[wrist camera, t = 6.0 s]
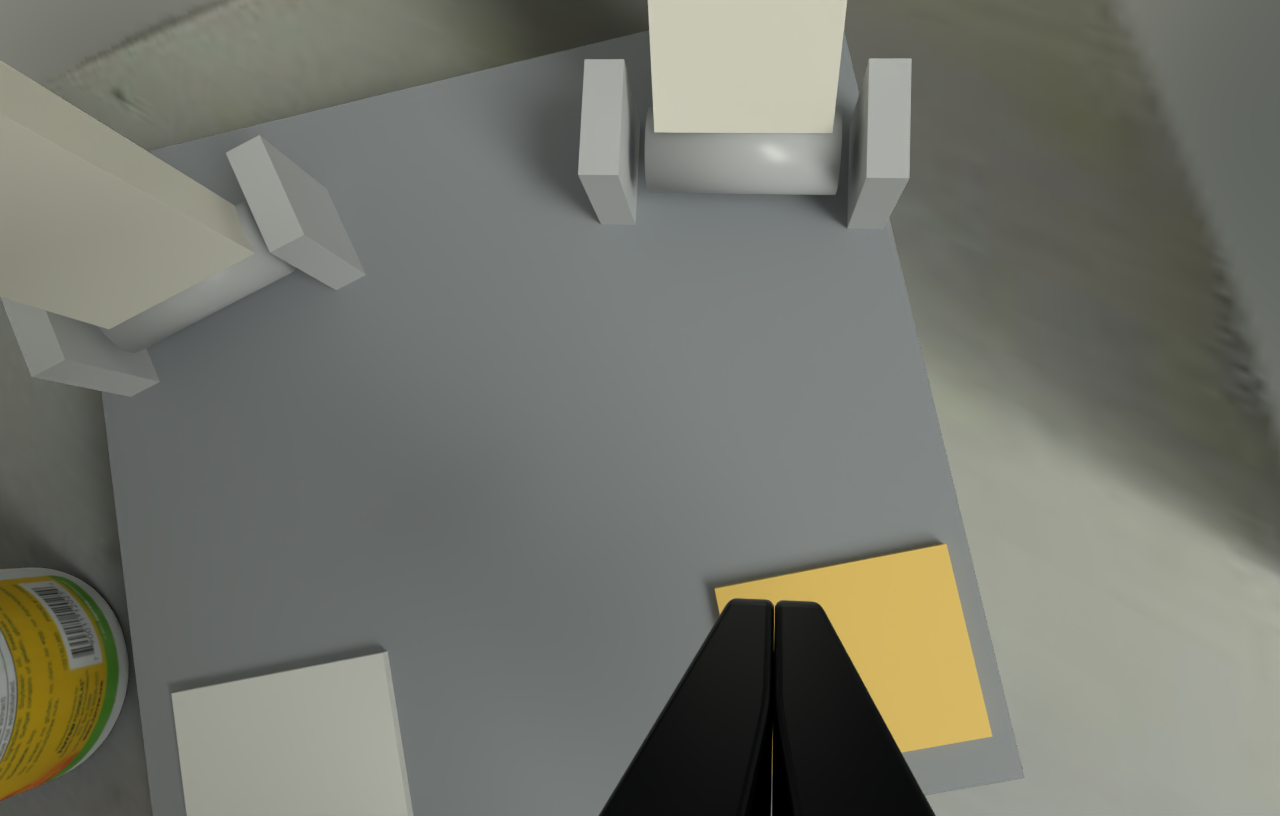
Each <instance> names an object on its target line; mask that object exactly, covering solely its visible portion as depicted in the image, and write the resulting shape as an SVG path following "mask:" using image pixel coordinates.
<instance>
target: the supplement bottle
mask: <svg viewBox="0 0 1280 816" xmlns="http://www.w3.org/2000/svg"><path fill="white" fill-rule="evenodd" d="M128 676H129V663H128V653H127V648H126V643H125V639H124V636H123V632H122V629H121V626H120V624H119V622H118V620H117V618H116V616H115V614H114V612H113V611H112V609H111V608H110V606H109V605H108V604H107V602H106V601H105V600H104V599H103V598H102V597H101V596H100V594H99V593H98V592H97V591H95V590H94V589H93V588H92V587H91V586H89V585H88V584H86V583H85V582H83V581H82V580H80V579H78V578H76V577H74V576H72V575H70V574H67V573H64V572H61V571H57V570H53V569H47V568H6V569H0V801H1V800H4V799H6V798H9V797H11V796H14V795H16V794H19V793H21V792H24V791H27V790H29V789H32V788H35V787H37V786H39V785H42V784H44V783H46V782H49V781H51V780H53V779H56V778H58V777H60V776H62V775H64V774H66V773H68V772H69V771H71V770H73V769H74V768H76V767H77V766H78V765H80V764H81V763H83V762H84V761H85V760H86V759H87V758H89V757H90V756H91V755H92V754H93V753H94V752H95V751H96V750H97V748H98V747H99V746H100V745H101V744H102V743H103V741H104V740H105V739H106V737H107V736H108V734H109V733H110V731H111V729H112V728H113V726H114V724H115V722H116V720H117V718H118V716H119V713H120V711H121V708H122V705H123V703H124V699H125V695H126V690H127V684H128Z"/></svg>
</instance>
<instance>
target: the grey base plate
mask: <svg viewBox="0 0 1280 816" xmlns="http://www.w3.org/2000/svg"><path fill="white" fill-rule="evenodd" d="M649 106H653V95H652V75H651V54H650V34H649V30H647V31H643V32H639V33H635V34H630V35H626V36H622V37H618V38H614V39H610V40H606V41H601V42H597V43H593V44H589V45H585V46H581V47H577V48H572V49H568V50H564V51H560V52H556V53H552V54H548V55H543V56H539V57H535V58H531V59H527V60H523V61H519V62H514V63H510V64H506V65H502V66H498V67H494V68H490V69H485V70H481V71H477V72H473V73H469V74H465V75H460V76H456V77H452V78H448V79H444V80H440V81H436V82H431V83H427V84H423V85H419V86H415V87H411V88H407V89H402V90H398V91H394V92H390V93H386V94H382V95H378V96H373V97H369V98H365V99H361V100H357V101H353V102H349V103H344V104H340V105H336V106H332V107H328V108H324V109H320V110H315V111H311V112H307V113H303V114H299V115H295V116H291V117H286V118H282V119H278V120H274V121H270V122H266V123H261V124H257V125H253V126H249V127H245V128H241V129H237V130H232V131H228V132H224V133H220V134H216V135H212V136H208V137H203V138H199V139H195V140H191V141H187V142H183V143H179V144H174V145H170V146H166V147H162V148H158V149H154V150H150V151H148V152H149V153H151V154H152V155H154V156H156V157H157V158H159V159H161V160H162V161H164V162H165V163H167V164H169V165H170V166H172V167H173V168H175V169H177V170H178V171H180V172H182V173H183V174H185V175H186V176H188V177H190V178H191V179H193V180H194V181H196V182H198V183H199V184H201V185H202V186H204V187H206V188H207V189H209V190H211V191H212V192H214V193H215V194H217V195H219V196H220V197H222V198H223V199H225V200H227V201H228V202H230V203H232V204H233V205H235V206H236V205H238V204H240V203H242V202H244V201H246V200H247V202H248V205H249V207H250V209H251V211H252V214H253V216H254V218H255V220H256V223H257V225H258V227H259V229H260V232H261V234H262V236H263V238H264V241H265V243H266V245H267V247H268V250H269V252H270V253H271V254H273V255H275V256H277V257H278V258H280V259H282V260H284V261H285V262H287V263H289V264H291V265H292V266H294V267H296V268H295V271H294V272H292V273H290V274H288V275H286V276H284V277H282V278H280V279H279V280H277V281H275V282H273V283H271V284H269V285H267V286H265V287H263V288H261V289H259V290H257V291H255V292H253V293H252V294H250V295H248V296H246V297H244V298H242V299H240V300H238V301H236V302H234V303H232V304H230V305H228V306H226V307H225V308H223V309H221V310H219V311H217V312H215V313H213V314H211V315H209V316H207V317H205V318H203V319H201V320H199V321H198V322H196V323H194V324H192V325H190V326H188V327H186V328H184V329H182V330H180V331H178V332H176V333H174V334H172V335H171V336H169V337H167V338H165V339H163V340H161V341H159V342H157V343H155V344H153V345H151V346H149V347H147V348H145V349H144V350H142V351H140V352H137V353H131V352H128V351H125V350H123V349H121V348H120V347H118V346H117V345H116V344H114V343H113V342H112V341H111V340H110V339H109V338H108V337H107V336H106V335H105V334H104V333H103V332H102V331H101V329H100V328H99V327H98V326H96V325H93V324H89V323H86V322H83V321H79V320H76V319H73V318H69V317H66V316H63V315H59V314H56V313H52V312H49V311H46V310H42V309H39V308H36V307H32V306H29V305H26V304H22V303H19V302H16V301H12V300H9V299H5V298H2V297H0V298H1V300H2V303H3V305H4V308H5V311H6V313H7V316H8V318H9V321H10V323H11V326H12V329H13V331H14V334H15V336H16V339H17V341H18V344H19V347H20V349H21V352H22V354H23V357H24V359H25V362H26V365H27V367H28V370H29V372H30V375H31V377H33V378H38V379H43V380H48V381H53V382H58V383H63V384H68V385H73V386H78V387H83V388H88V389H93V390H99V391H101V393H102V402H103V410H104V418H105V427H106V435H107V443H108V451H109V460H110V468H111V476H112V485H113V493H114V501H115V509H116V518H117V526H118V534H119V542H120V551H121V559H122V567H123V576H124V584H125V592H126V600H127V609H128V617H129V625H130V633H131V642H132V650H133V658H134V667H135V675H136V683H137V691H138V700H139V708H140V716H141V725H142V733H143V741H144V749H145V758H146V766H147V774H148V782H149V791H150V799H151V807H152V816H599V814H600V812H601V811H602V809H603V807H604V806H605V804H606V802H607V801H608V799H609V797H610V796H611V794H612V792H613V791H614V789H615V787H616V786H617V784H618V782H619V781H620V779H621V778H622V776H623V774H624V773H625V771H626V769H627V768H628V766H629V764H630V763H631V761H632V759H633V758H634V756H635V754H636V753H637V751H638V749H639V748H640V746H641V744H642V743H643V741H644V739H645V738H646V736H647V735H648V733H649V731H650V730H651V728H652V726H653V725H654V723H655V721H656V720H657V718H658V716H659V715H660V713H661V711H662V710H663V708H664V706H665V705H666V703H667V701H668V700H669V698H670V696H671V695H672V693H673V692H674V690H675V688H676V687H677V685H678V683H679V682H680V680H681V678H682V677H683V675H684V673H685V672H686V670H687V668H688V667H689V665H690V663H691V662H692V660H693V658H694V657H695V655H696V653H697V652H698V650H699V649H700V647H701V645H702V644H703V642H704V640H705V639H706V637H707V635H708V634H709V632H710V630H711V629H712V627H713V625H714V624H715V622H716V620H717V619H718V617H719V615H720V614H721V612H722V610H723V609H724V607H725V606H726V604H727V603H728V602H729V601H730V600H732V599H734V598H744V599H766V600H769V601H771V602H772V603H773V605H774V621H775V605H776V604H777V602H779V601H781V600H790V601H812V602H817V603H818V604H820V605H821V606H822V608H823V609H824V611H825V612H826V614H827V616H828V618H829V620H830V622H831V624H832V625H833V627H834V629H835V631H836V633H837V635H838V636H839V638H840V640H841V642H842V644H843V646H844V648H845V649H846V651H847V653H848V655H849V657H850V659H851V660H852V662H853V664H854V666H855V668H856V670H857V671H858V673H859V675H860V677H861V679H862V681H863V683H864V684H865V686H866V688H867V690H868V692H869V694H870V695H871V697H872V699H873V701H874V703H875V705H876V707H877V708H878V710H879V712H880V714H881V716H882V718H883V719H884V721H885V723H886V725H887V727H888V729H889V730H890V732H891V734H892V736H893V738H894V740H895V742H896V743H897V745H898V747H899V749H900V751H901V753H902V754H903V756H904V758H905V760H906V762H907V764H908V766H909V767H910V769H911V771H912V773H913V775H914V777H915V778H916V780H917V782H918V784H919V786H920V788H921V790H922V791H923V793H924V795H929V794H935V793H941V792H946V791H952V790H958V789H964V788H970V787H975V786H981V785H987V784H993V783H999V782H1004V781H1010V780H1016V779H1022V778H1024V774H1023V769H1022V765H1021V761H1020V757H1019V753H1018V749H1017V745H1016V740H1015V736H1014V732H1013V728H1012V724H1011V720H1010V716H1009V712H1008V707H1007V703H1006V699H1005V695H1004V691H1003V687H1002V683H1001V678H1000V674H999V670H998V666H997V662H996V658H995V654H994V649H993V645H992V641H991V637H990V633H989V629H988V625H987V620H986V616H985V612H984V608H983V604H982V600H981V596H980V592H979V587H978V583H977V579H976V575H975V571H974V567H973V563H972V558H971V554H970V550H969V546H968V542H967V538H966V534H965V529H964V525H963V521H962V517H961V513H960V509H959V505H958V500H957V496H956V492H955V488H954V484H953V480H952V476H951V471H950V467H949V463H948V459H947V455H946V451H945V447H944V443H943V438H942V434H941V430H940V426H939V422H938V418H937V414H936V409H935V405H934V401H933V397H932V393H931V389H930V385H929V380H928V376H927V372H926V368H925V364H924V360H923V356H922V351H921V347H920V343H919V339H918V335H917V331H916V327H915V323H914V318H913V314H912V310H911V306H910V302H909V298H908V294H907V289H906V285H905V281H904V277H903V273H902V269H901V265H900V260H899V256H898V252H897V248H896V244H895V240H894V236H893V231H892V227H891V223H890V219H889V217H890V215H891V213H892V211H893V209H894V207H895V205H896V203H897V201H898V199H899V198H900V196H901V194H902V192H903V190H904V188H905V186H906V184H907V182H908V180H909V167H910V111H911V59H869V61H868V65H867V68H866V72H865V75H864V79H863V82H862V86H861V89H860V92H859V91H858V87H857V82H856V78H855V74H854V70H853V66H852V62H851V58H850V54H849V49H848V45H847V41H846V37H845V33H843V42H842V51H841V60H840V69H839V79H838V88H837V97H836V106H835V107H841V110H842V148H841V162H840V173H839V181H838V187H837V192H836V195H791V194H709V193H648V191H647V187H646V178H645V128H646V117H647V111H648V107H649ZM772 749H773V739H772ZM771 816H772V800H771Z"/></svg>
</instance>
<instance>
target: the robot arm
mask: <svg viewBox="0 0 1280 816" xmlns="http://www.w3.org/2000/svg"><path fill="white" fill-rule="evenodd" d="M772 739H773V749H772ZM771 800H772V816H936V815H935V813H934V812H933V810H932V808H931V806H930V804H929V802H928V801H927V799H926V797H925V795H924V793H923V791H922V790H921V788H920V786H919V784H918V782H917V780H916V778H915V777H914V775H913V773H912V771H911V769H910V767H909V766H908V764H907V762H906V760H905V758H904V756H903V754H902V753H901V751H900V749H899V747H898V745H897V743H896V742H895V740H894V738H893V736H892V734H891V732H890V730H889V729H888V727H887V725H886V723H885V721H884V719H883V718H882V716H881V714H880V712H879V710H878V708H877V707H876V705H875V703H874V701H873V699H872V697H871V695H870V694H869V692H868V690H867V688H866V686H865V684H864V683H863V681H862V679H861V677H860V675H859V673H858V671H857V670H856V668H855V666H854V664H853V662H852V660H851V659H850V657H849V655H848V653H847V651H846V649H845V648H844V646H843V644H842V642H841V640H840V638H839V636H838V635H837V633H836V631H835V629H834V627H833V625H832V624H831V622H830V620H829V618H828V616H827V614H826V612H825V611H824V609H823V608H822V606H821V605H820V604H818V603H817V602H812V601H790V600H781V601H779V602H777V604H776V605H775V621H774V605H773V603H772V602H771V601H769V600H766V599H744V598H734V599H732V600H730V601H729V602H728V603H727V604H726V606H725V607H724V609H723V610H722V612H721V614H720V615H719V617H718V619H717V620H716V622H715V624H714V625H713V627H712V629H711V630H710V632H709V634H708V635H707V637H706V639H705V640H704V642H703V644H702V645H701V647H700V649H699V650H698V652H697V653H696V655H695V657H694V658H693V660H692V662H691V663H690V665H689V667H688V668H687V670H686V672H685V673H684V675H683V677H682V678H681V680H680V682H679V683H678V685H677V687H676V688H675V690H674V692H673V693H672V695H671V696H670V698H669V700H668V701H667V703H666V705H665V706H664V708H663V710H662V711H661V713H660V715H659V716H658V718H657V720H656V721H655V723H654V725H653V726H652V728H651V730H650V731H649V733H648V735H647V736H646V738H645V739H644V741H643V743H642V744H641V746H640V748H639V749H638V751H637V753H636V754H635V756H634V758H633V759H632V761H631V763H630V764H629V766H628V768H627V769H626V771H625V773H624V774H623V776H622V778H621V779H620V781H619V782H618V784H617V786H616V787H615V789H614V791H613V792H612V794H611V796H610V797H609V799H608V801H607V802H606V804H605V806H604V807H603V809H602V811H601V812H600V814H599V816H771Z"/></svg>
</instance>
